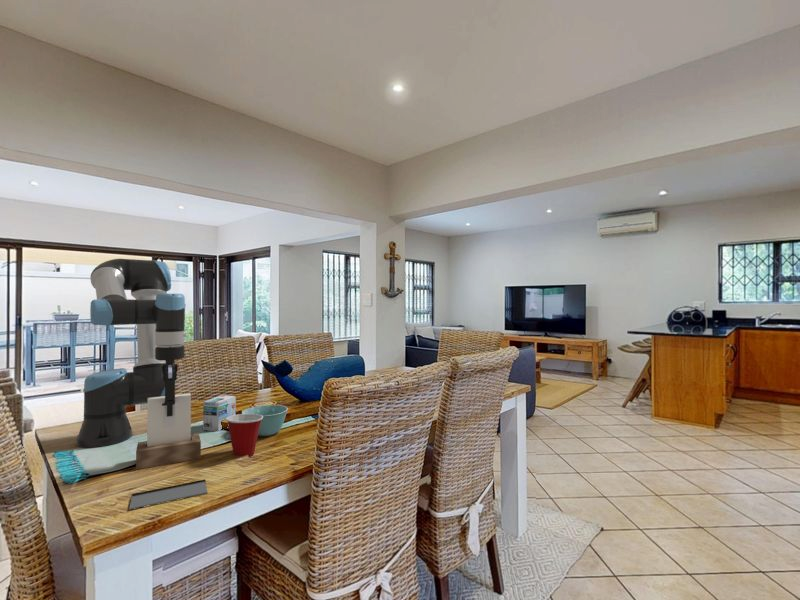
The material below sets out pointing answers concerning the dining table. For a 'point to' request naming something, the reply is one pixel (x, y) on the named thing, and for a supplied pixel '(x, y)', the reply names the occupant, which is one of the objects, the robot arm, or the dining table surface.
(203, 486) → the rubber mat
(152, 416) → the rectangular insert block
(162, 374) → the robot arm
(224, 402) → the light bulb box
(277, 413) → the bowl
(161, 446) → the slot box
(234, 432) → the plastic cup
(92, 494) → the dining table surface
